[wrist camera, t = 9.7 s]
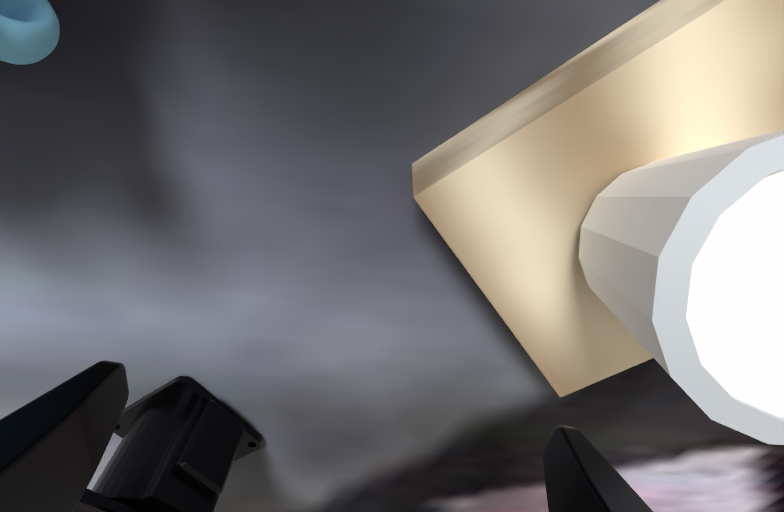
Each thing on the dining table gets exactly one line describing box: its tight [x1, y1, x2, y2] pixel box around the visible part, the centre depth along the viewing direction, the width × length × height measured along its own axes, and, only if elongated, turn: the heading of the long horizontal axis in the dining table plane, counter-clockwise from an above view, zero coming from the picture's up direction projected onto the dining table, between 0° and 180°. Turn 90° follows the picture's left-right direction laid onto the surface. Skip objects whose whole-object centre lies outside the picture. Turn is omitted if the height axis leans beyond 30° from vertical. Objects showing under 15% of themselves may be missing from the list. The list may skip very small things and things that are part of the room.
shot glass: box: [579, 130, 784, 445], centre depth 13 cm, size 7×7×7 cm
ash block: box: [412, 0, 784, 397], centre depth 19 cm, size 12×12×4 cm
